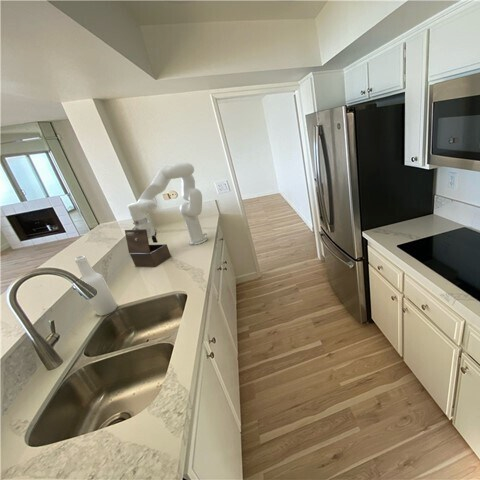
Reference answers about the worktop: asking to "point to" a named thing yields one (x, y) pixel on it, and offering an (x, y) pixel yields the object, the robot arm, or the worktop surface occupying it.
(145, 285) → the worktop surface
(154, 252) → the bin
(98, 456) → the worktop surface
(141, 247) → the bin lid
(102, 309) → the alcohol
